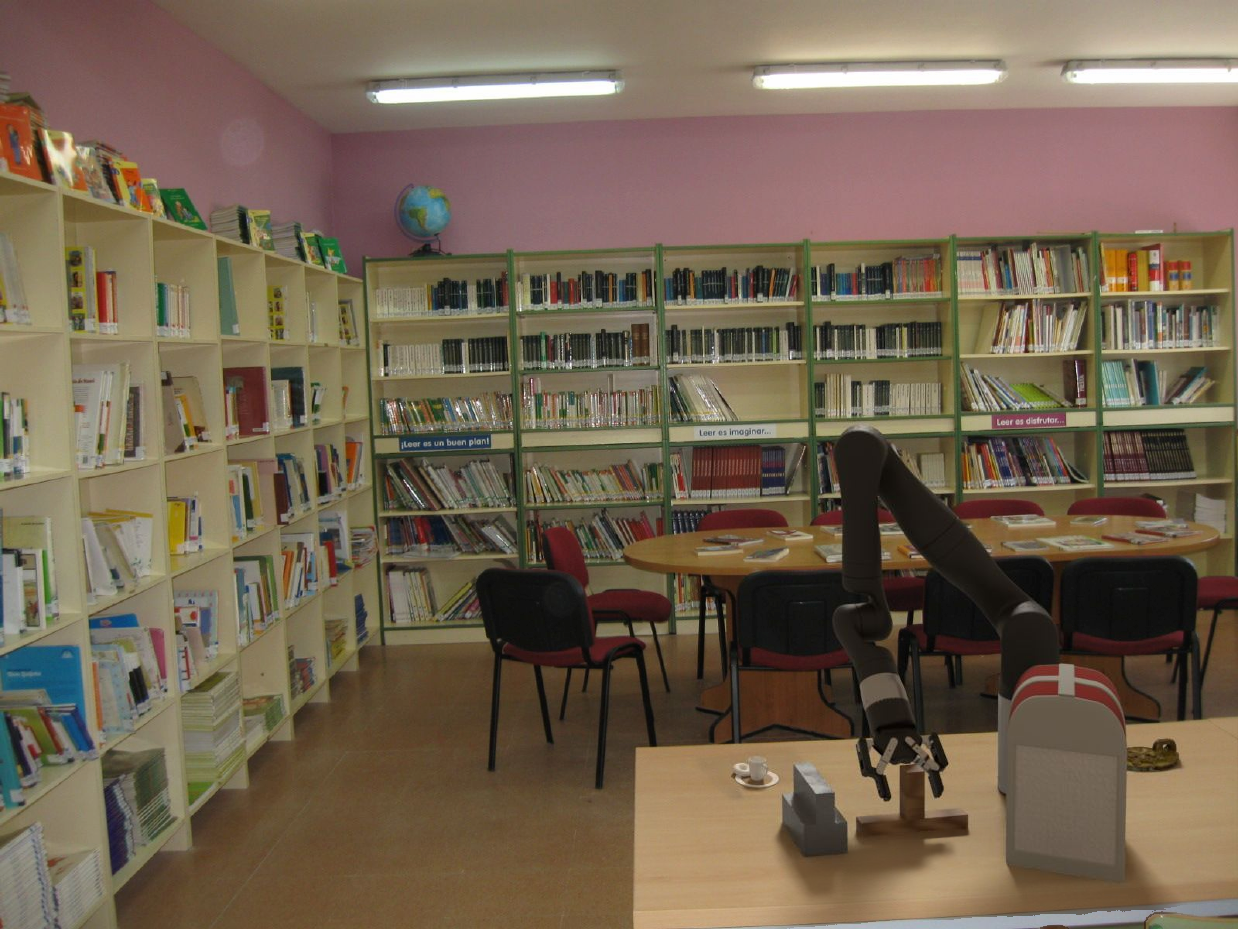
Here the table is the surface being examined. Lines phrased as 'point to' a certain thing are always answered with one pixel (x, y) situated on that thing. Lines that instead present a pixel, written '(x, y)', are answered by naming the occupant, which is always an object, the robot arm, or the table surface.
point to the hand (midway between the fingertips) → (913, 798)
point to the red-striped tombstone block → (1066, 773)
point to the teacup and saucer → (754, 772)
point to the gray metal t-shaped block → (813, 814)
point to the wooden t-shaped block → (911, 811)
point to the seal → (1153, 756)
